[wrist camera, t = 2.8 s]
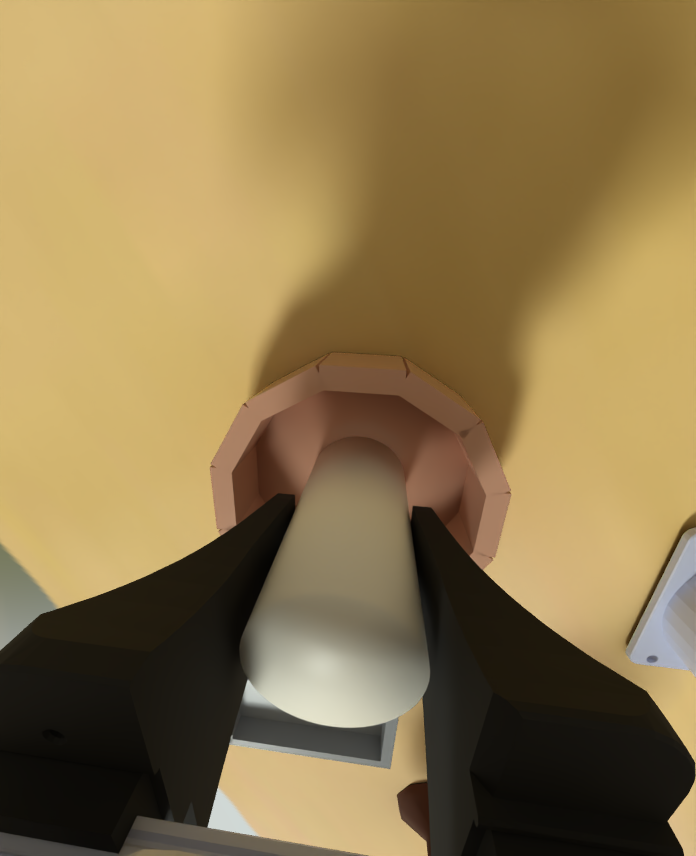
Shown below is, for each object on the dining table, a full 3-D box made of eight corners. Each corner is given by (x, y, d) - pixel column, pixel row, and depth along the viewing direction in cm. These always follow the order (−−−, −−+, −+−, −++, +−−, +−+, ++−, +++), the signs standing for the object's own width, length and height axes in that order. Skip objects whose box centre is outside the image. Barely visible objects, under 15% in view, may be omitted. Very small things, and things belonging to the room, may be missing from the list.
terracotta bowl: (505, 362, 13) (540, 379, 10) (459, 577, 16) (475, 633, 13) (235, 346, 13) (197, 357, 10) (251, 555, 17) (225, 604, 14)
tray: (406, 612, 17) (409, 648, 16) (389, 727, 21) (390, 769, 19) (224, 590, 18) (206, 623, 16) (237, 705, 22) (223, 743, 20)
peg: (409, 440, 13) (444, 607, 6) (399, 521, 15) (417, 739, 7) (313, 432, 14) (232, 583, 6) (312, 513, 15) (245, 713, 8)
